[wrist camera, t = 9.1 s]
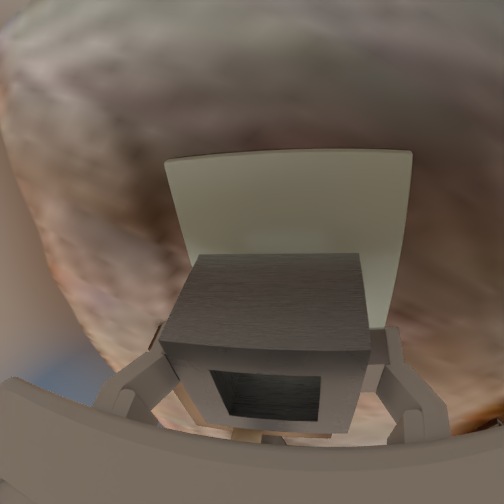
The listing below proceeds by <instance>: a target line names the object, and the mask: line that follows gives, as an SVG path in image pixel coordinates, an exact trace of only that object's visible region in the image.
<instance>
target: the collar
mask: <svg viewBox="0 0 504 504" xmlns="http://www.w3.org/2000/svg"><path fill="white" fill-rule="evenodd" d="M158 341H159V343H160V345H161V347H162V349H163V350H164V352H165V354H166V356H167V358H168V359H169V361H170V363H171V365H172V367H173V368H174V370H175V372H176V374H177V375H178V377H179V379H180V381H181V382H182V384H183V386H184V387H185V389H186V391H187V392H188V394H189V396H190V397H191V399H192V401H193V402H194V404H195V405H196V407H197V409H198V410H199V412H200V413H201V415H202V417H203V418H204V420H205V421H206V423H207V424H214V425H220V426H228V427H236V428H244V429H254V430H264V431H277V432H294V433H348V430H349V427H350V424H351V421H352V418H353V415H354V411H355V408H356V405H357V402H358V398H359V395H360V391H361V388H362V384H363V381H364V377H365V373H366V370H367V366H368V362H369V358H370V354H371V340H370V331H369V321H368V313H367V305H366V297H365V289H364V282H363V276H362V269H361V263H360V256H359V253H303V254H199V256H198V258H197V260H196V262H195V264H194V266H193V268H192V270H191V272H190V274H189V276H188V278H187V280H186V282H185V284H184V286H183V288H182V291H181V293H180V295H179V297H178V299H177V301H176V303H175V305H174V307H173V309H172V311H171V314H170V316H169V318H168V320H167V322H166V324H165V326H164V328H163V331H162V333H161V335H160V337H159V339H158Z"/></svg>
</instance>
